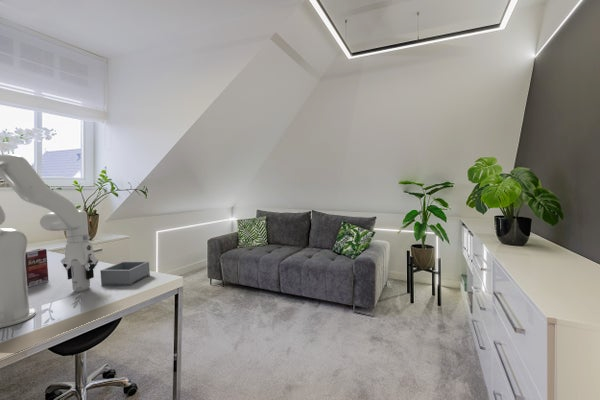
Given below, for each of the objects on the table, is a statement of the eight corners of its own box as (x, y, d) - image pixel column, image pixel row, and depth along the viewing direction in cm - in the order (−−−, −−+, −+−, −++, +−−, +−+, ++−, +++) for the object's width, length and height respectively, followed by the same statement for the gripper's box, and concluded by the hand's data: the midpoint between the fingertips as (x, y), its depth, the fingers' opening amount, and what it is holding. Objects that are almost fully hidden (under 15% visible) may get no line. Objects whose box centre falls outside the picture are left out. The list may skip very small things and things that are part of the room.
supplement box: (29, 287, 125) (26, 253, 124) (20, 287, 126) (17, 252, 125) (49, 281, 134) (47, 248, 133) (41, 280, 135) (39, 248, 134)
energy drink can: (71, 290, 121) (68, 256, 120) (88, 286, 126) (86, 253, 125) (74, 293, 117) (71, 258, 116) (91, 289, 122) (89, 255, 121)
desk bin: (130, 285, 125) (129, 270, 124) (101, 285, 126) (100, 270, 126) (149, 275, 139) (148, 261, 138) (123, 275, 140) (122, 261, 140)
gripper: (103, 237, 123) (106, 275, 124) (67, 237, 125) (70, 275, 126) (89, 240, 116) (92, 281, 117) (51, 241, 117) (54, 281, 118)
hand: (80, 278), depth 121 cm, fingers open, 8 cm apart
